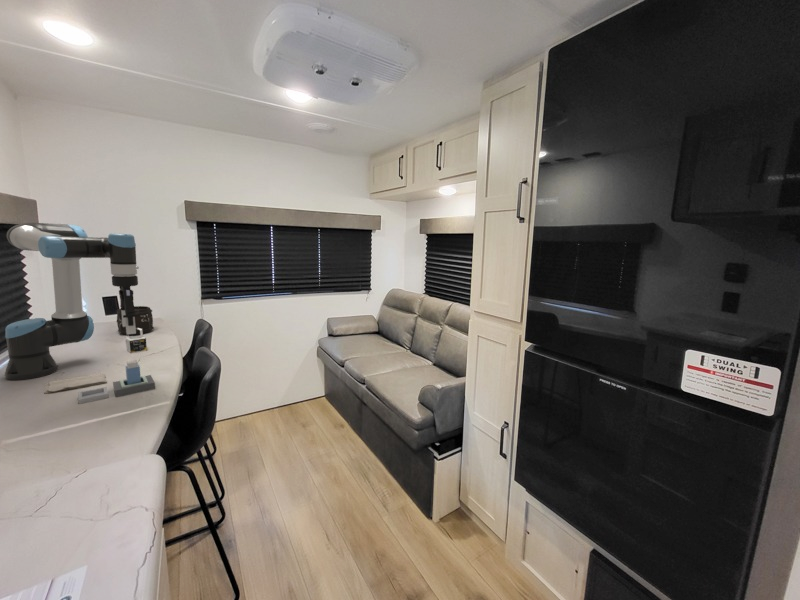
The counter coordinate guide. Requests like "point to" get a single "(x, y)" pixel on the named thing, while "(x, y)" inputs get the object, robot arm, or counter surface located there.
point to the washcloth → (75, 383)
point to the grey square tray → (92, 395)
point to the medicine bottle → (136, 342)
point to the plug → (133, 372)
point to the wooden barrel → (138, 320)
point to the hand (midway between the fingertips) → (129, 329)
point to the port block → (133, 386)
